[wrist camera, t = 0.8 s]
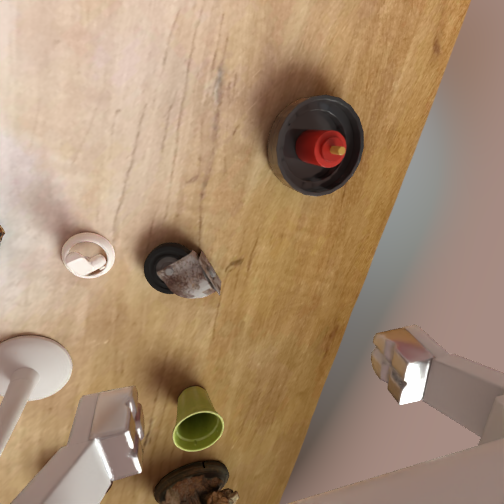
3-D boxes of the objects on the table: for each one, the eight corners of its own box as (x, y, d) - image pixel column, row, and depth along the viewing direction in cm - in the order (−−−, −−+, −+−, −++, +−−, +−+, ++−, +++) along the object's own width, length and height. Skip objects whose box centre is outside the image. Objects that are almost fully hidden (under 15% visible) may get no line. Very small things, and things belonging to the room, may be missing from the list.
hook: (81, 203, 45) (109, 244, 44) (103, 232, 57) (126, 265, 56) (26, 231, 43) (54, 275, 42) (61, 255, 54) (83, 291, 53)
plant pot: (165, 386, 66) (167, 421, 58) (211, 373, 68) (220, 405, 60) (173, 420, 70) (177, 458, 62) (217, 407, 72) (227, 441, 64)
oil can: (293, 132, 55) (323, 134, 46) (323, 127, 56) (358, 127, 47) (296, 165, 57) (326, 173, 48) (325, 159, 58) (358, 166, 49)
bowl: (260, 104, 53) (271, 103, 48) (345, 91, 56) (363, 88, 51) (271, 198, 59) (282, 204, 54) (348, 181, 62) (364, 185, 57)
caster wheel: (141, 254, 58) (190, 226, 57) (176, 306, 61) (223, 280, 60) (129, 265, 51) (185, 233, 51) (169, 323, 54) (223, 294, 53)
